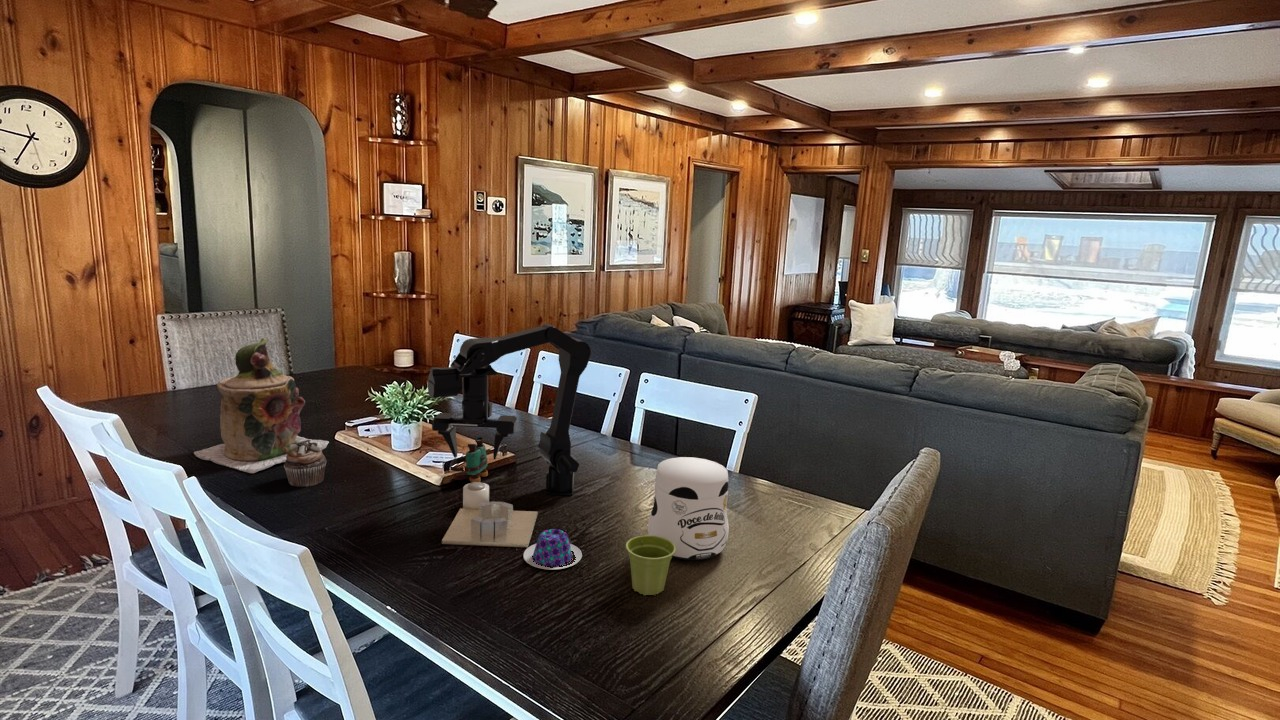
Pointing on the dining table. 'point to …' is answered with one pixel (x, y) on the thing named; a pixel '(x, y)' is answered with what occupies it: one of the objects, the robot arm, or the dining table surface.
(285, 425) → the cookie jar
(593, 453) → the dining table surface
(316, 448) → the cupcake
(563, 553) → the pudding
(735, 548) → the dining table surface
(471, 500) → the cap
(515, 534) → the wooden board
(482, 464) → the binoculars
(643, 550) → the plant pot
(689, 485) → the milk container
